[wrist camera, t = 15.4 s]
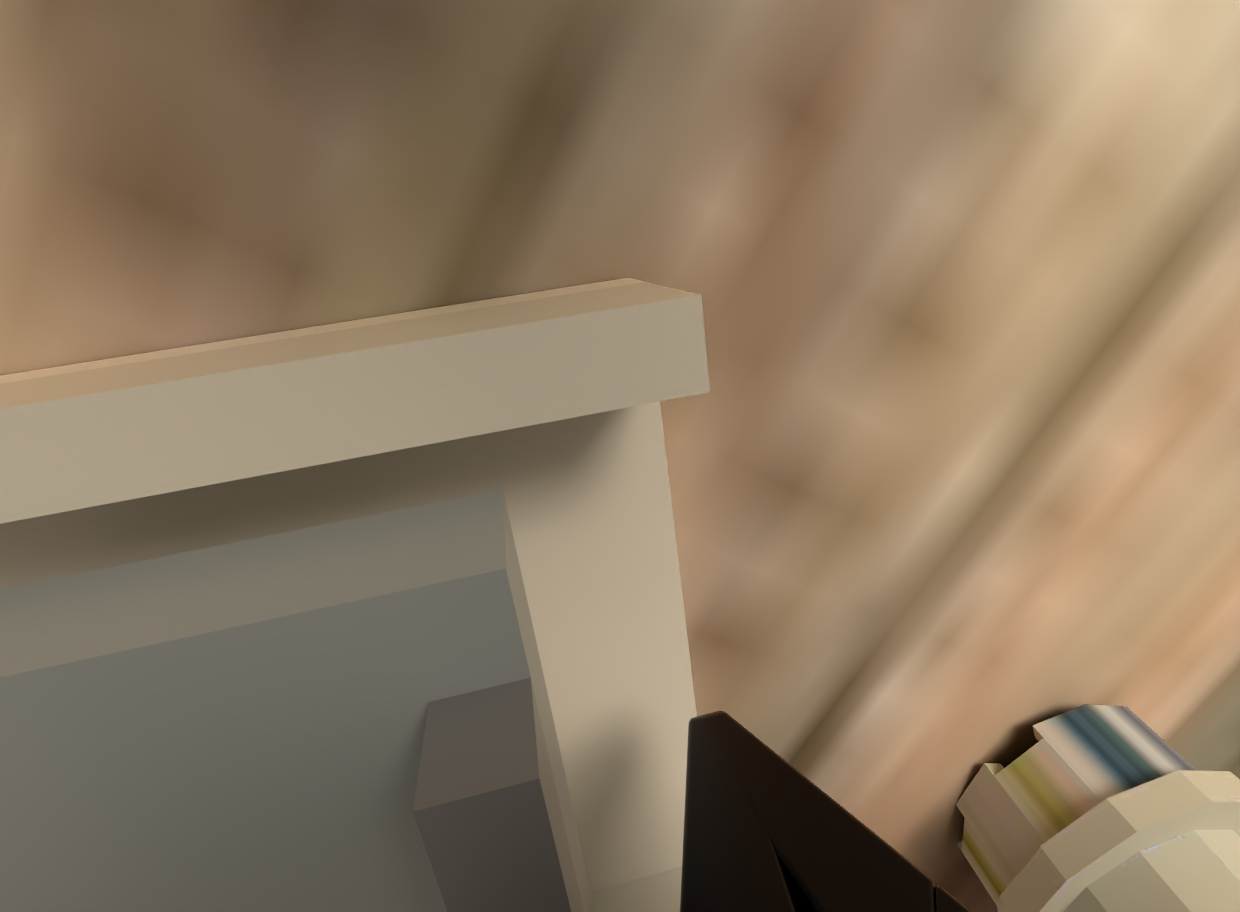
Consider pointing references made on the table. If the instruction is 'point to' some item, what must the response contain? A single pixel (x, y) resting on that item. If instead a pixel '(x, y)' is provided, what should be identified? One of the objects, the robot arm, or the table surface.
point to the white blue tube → (1103, 822)
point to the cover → (288, 728)
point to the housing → (420, 497)
